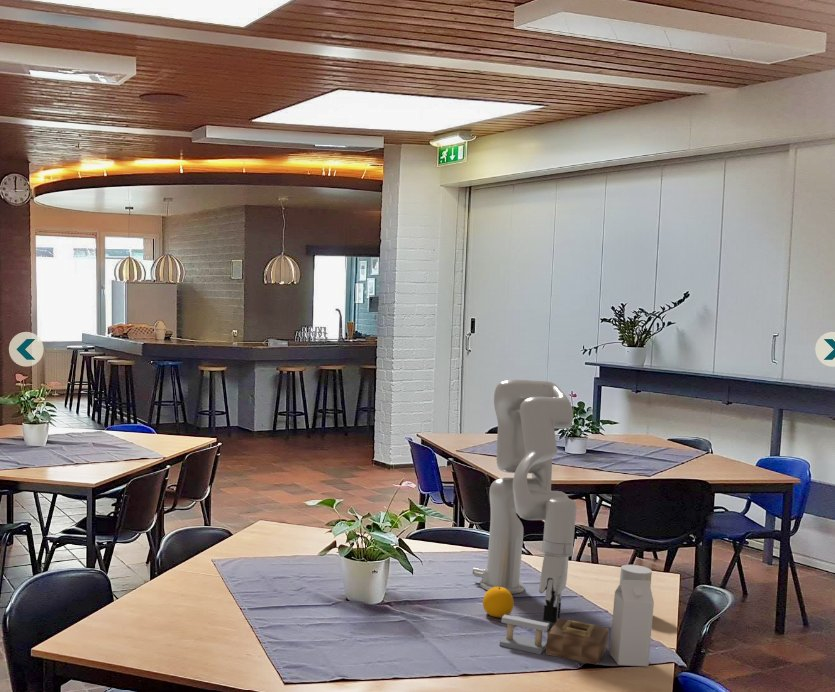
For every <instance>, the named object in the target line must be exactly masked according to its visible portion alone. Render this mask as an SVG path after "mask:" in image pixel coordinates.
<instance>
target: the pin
mask: <svg viewBox="0 0 835 692" xmlns="http://www.w3.org/2000/svg"><path fill="white" fill-rule="evenodd" d="M552 593H553V594H554V593H555V592H552ZM559 597H560V594H559V595H557V604H556V607H557V618H556V622H557V621H558V620H559V618H558V608H559ZM552 598H553V599H554V597H552ZM556 622H555V623H556ZM544 623H549V629H548V630H547V631H546V632H549V631H550V629H551V628H552V627H553V626H554V625H555V623H553V622H548V621H544Z"/></svg>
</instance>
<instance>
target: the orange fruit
mask: <svg viewBox="0 0 835 692" xmlns="http://www.w3.org/2000/svg"><path fill="white" fill-rule="evenodd" d="M514 601H515V600H514V597H513V594H511V593H510V592H509V591H508V590H507V589H506V588H503V587H493V588H491V589H489V590H486V591H485V594H484V595H483V599H482V606H483V609H484V611H485V613H486V614H488V615H489V616H491V617H493V618H494V617H495V618H502V617H503V616H504V615H510V614H511V613H512V612H513V610H514V605H515V604H514V603H515V602H514Z"/></svg>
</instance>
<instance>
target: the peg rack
mask: <svg viewBox="0 0 835 692" xmlns="http://www.w3.org/2000/svg"><path fill="white" fill-rule="evenodd" d="M501 623H503V624H506V635H504V636H503V638H501V640H499V644H498V645H499V646H500V647H504V648H509V649H513V650H519V651H523V652H527V653H532V654H537V655H541V654H543V652H544V651H545V650H546V646H547V641H543V632H548V631H547V630H548V629H549V623H545V621H544V622H543V621H538V620H533V619H529V618H524V617H519V616H513V615H510V614H509V615H504V616H503V617H501ZM515 626H518V627H523V628H528V629H532V630H535V634H534V637H535V638H534V639H533V638H529V637H524V636H519V635H514V629H515Z"/></svg>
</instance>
